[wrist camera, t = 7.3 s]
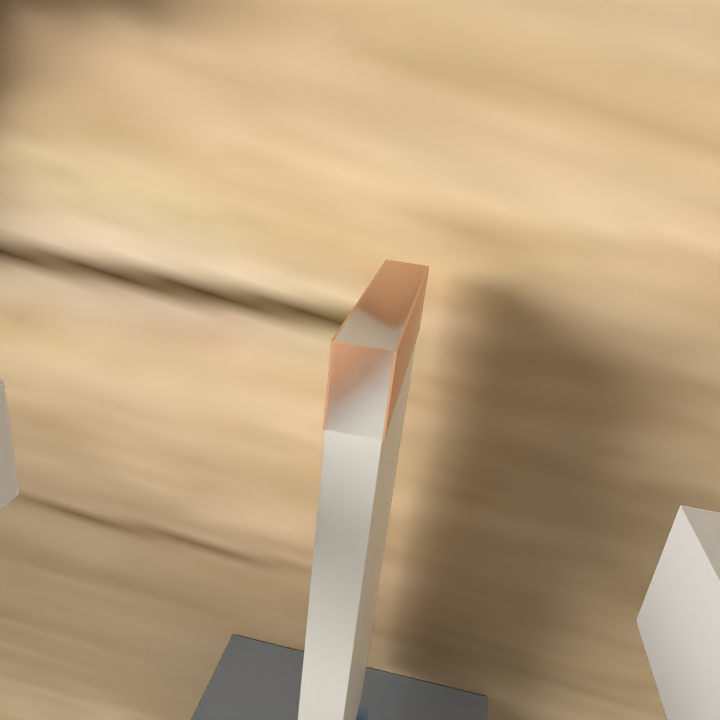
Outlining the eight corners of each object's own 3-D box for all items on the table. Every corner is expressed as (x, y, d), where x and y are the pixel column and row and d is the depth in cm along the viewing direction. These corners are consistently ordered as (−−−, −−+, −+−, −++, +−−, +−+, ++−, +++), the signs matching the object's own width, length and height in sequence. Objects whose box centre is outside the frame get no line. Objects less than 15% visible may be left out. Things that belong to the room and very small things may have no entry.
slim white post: (333, 682, 25) (281, 872, 19) (386, 259, 18) (331, 340, 12) (363, 689, 25) (321, 884, 19) (429, 266, 18) (396, 351, 12)
